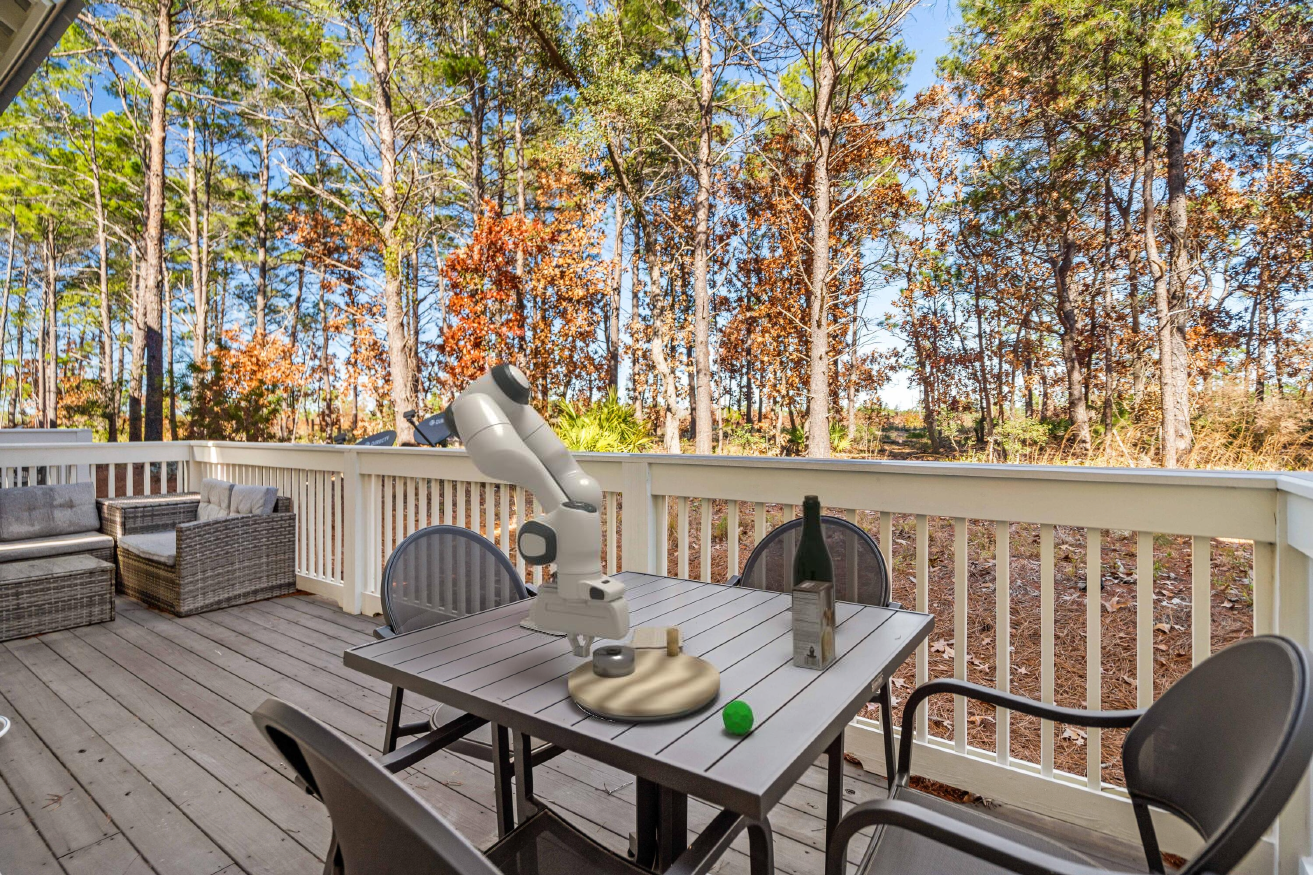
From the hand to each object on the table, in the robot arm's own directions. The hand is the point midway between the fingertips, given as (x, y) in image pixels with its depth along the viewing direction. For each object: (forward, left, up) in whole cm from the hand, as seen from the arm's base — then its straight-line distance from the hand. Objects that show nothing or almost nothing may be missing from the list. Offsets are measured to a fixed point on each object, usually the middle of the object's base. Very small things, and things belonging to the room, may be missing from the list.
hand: (581, 656), depth 122 cm
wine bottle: (+34, +51, -5) cm, 62 cm away
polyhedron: (+35, -8, -5) cm, 36 cm away
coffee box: (+39, +29, -5) cm, 49 cm away
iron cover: (+7, 0, -2) cm, 7 cm away
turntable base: (+14, 0, -5) cm, 15 cm away
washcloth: (+4, +26, -6) cm, 27 cm away
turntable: (+14, 0, -3) cm, 14 cm away
